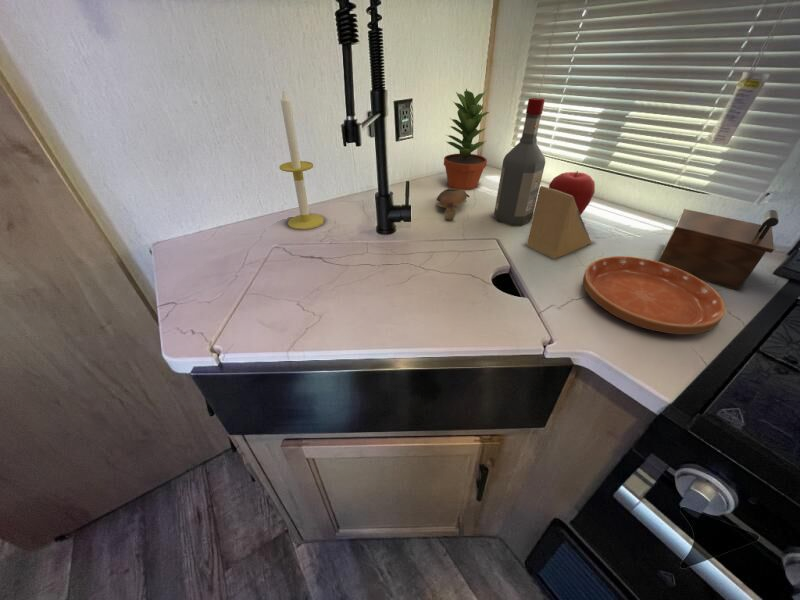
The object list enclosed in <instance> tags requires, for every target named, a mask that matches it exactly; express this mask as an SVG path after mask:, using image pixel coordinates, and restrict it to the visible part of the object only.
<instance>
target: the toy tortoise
mask: <svg viewBox="0 0 800 600" xmlns="http://www.w3.org/2000/svg"><path fill="white" fill-rule="evenodd" d="M467 198H471V196H470V195H469V194H467V191H466V190H463V189H455V188H452V187H449V188H447V189H444V190H443V191H442V192H440V193H439V194H438V195H437V197H436V199H435V201H436V202H437V203H436V206H438V207H440V208H445V211H444V220H446V221H453V220H454V218H455V216H456V208H457V207H458V206H461V205H464V204H466V203H467V202H468V200H467Z"/></svg>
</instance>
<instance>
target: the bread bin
mask: <svg viewBox="0 0 800 600" xmlns="http://www.w3.org/2000/svg"><path fill="white" fill-rule="evenodd" d="M680 216H681V214H680V215H679V217H678V219H677V221H676V223H675V224H674V227H673V230H672V231H671V233H670V235H669V237H668V239H667V241H666V243H665V245H664V246H663V249H662V252H661V253H660V256H659V259H658V261H657V262H661V263H664V264H667V265H670V266H673V267H676V268H678V269H681V270H683V271H685V272H688V273H690V274H692V275H693V276H695V277H697V278H699V279H701V280H702V281H704V282H709V283H711V284H715V285H719V286H722V287H726V288H729V289H733V290H736V291H740V289H741V288H742V287H743V285H744V284H745V282H746V281H747V280H748V279H749V277H750V275H752V273H753V271H754V270H755V269H756V267H757V265H758V264H759V263H760V261H761V260H762V258H763V257H764V256H765V254H766V253H767V252H765V251H761V250H757V249H752V248H748V247H744V246H740V245H735V244H731V243H727V242H723V241H719V240H714V239H710V238H706V237H702V236H697V235H693V234H689V233H685V232H680V231H676V230H675V227H676V225H677V223H678V220H679V218H680Z"/></svg>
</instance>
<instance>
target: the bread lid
mask: <svg viewBox="0 0 800 600" xmlns="http://www.w3.org/2000/svg"><path fill="white" fill-rule="evenodd" d="M680 215H681V216H680ZM680 215H679V217H680V218H679V217H678V219H679V220H678V219H677V221H678V223H677V222H676V223H677V225H676V224H675V225H676V227H675V226H674V227H675V230H676V231H680V232H685V233H689V234H693V235H697V236H702V237H706V238H710V239H714V240H719V241H723V242H727V243H731V244H735V245H740V246H744V247H748V248H752V249H757V250H761V251H765V252H766V253H770V254H772V253H773V252H774V250H775V245H774V235H773V234H774V233H773V227H776V226H777V225H778V224H779V215H778V211H777V210H775V209H769V210H767V211H765V213H764V215H763V217H764V220H763V222H762V224H760V223H754V222H750V221H745V220H741V219H735V218H730V217H725V216H720V215H716V214H711V213H707V212H701V211H696V210H692V209H687V208H683V209H682V211H681V213H680Z"/></svg>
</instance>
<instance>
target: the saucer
mask: <svg viewBox="0 0 800 600" xmlns="http://www.w3.org/2000/svg"><path fill="white" fill-rule="evenodd" d="M582 283H583V287H584V289H585V291H586V292H587V294H588V295H589V297H590V298H591V299H592V300H593V301H594V302H595V303H596V304H597V305H599V306H600V307H602V308H603V309H604V310H606V311H607V312H609V313H610V314H612V315H613V316H615V317H616V318H619V319H620V320H623V321H625V322H627V323H628V324H632V325H635V326H636V327H640V328H643V329H647V330H651V331H656V332H661V333H665V334H673V335H694V334H700V333H701V334H702V333H706V332H708V331H710V330H712V329H714V328H715V327H716V326H717V325H718V324H719V323H720V321H721V320H722V319H723V318H724V316H725V314H726V304H725V301H724V299H723V298H722V296H721V295H720V294H719V293H718V292H717V291H716V290H715V288H713V287H712V286H711V285H710V284H708V283H707V282H706V281H704V280H701V279H699V278H697V277H695V276H693V275H692V274H690V273H688V272H685V271H683V270H681V269H678V268H676V267H673V266H670V265H667V264H664V263H661V262H658V261H656V260H653V259H648V258H643V257H637V256H626V255H625V256H623V255H618V256H617V255H616V256H607V257H602V258H599V259H596V260H595V261H592V262H591V263H589V264H588V266H587V267H586V269H585V271H584V274H583V278H582Z"/></svg>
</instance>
